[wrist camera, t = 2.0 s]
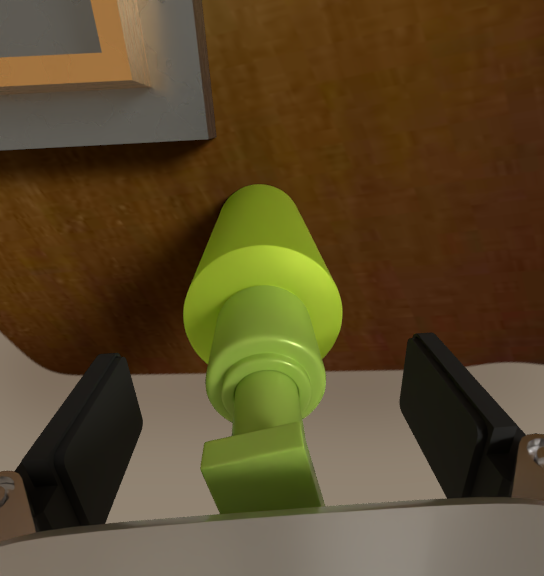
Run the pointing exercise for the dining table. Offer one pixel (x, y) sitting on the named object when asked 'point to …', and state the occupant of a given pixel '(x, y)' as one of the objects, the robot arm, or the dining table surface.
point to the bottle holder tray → (103, 73)
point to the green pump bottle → (262, 349)
